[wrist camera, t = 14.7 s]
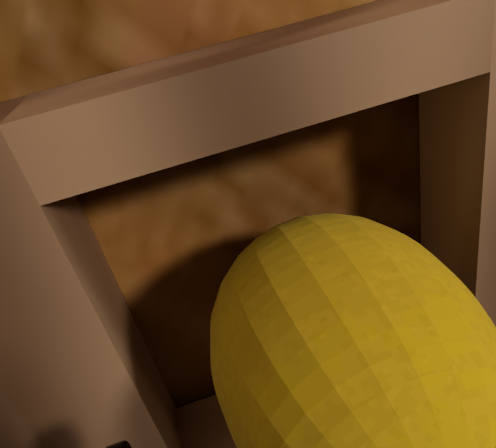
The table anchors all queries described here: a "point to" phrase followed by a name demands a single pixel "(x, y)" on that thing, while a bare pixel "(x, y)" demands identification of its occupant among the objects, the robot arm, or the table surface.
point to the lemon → (350, 342)
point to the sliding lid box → (198, 146)
